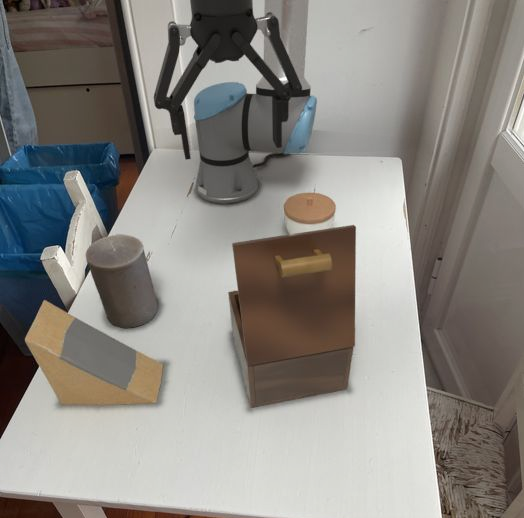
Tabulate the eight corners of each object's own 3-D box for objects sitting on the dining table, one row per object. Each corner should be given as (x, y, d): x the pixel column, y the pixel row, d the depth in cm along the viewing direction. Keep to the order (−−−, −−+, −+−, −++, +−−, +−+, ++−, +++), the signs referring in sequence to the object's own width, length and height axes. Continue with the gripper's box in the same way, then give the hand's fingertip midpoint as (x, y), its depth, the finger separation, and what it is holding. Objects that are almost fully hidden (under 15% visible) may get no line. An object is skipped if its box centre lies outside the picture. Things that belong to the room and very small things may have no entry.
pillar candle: (105, 331, 87) (79, 264, 76) (108, 296, 94) (85, 230, 83) (159, 324, 88) (141, 257, 77) (158, 290, 95) (142, 224, 84)
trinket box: (330, 254, 101) (333, 214, 94) (279, 249, 103) (279, 209, 96) (335, 225, 108) (338, 186, 101) (288, 221, 110) (288, 183, 103)
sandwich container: (157, 404, 76) (135, 338, 65) (60, 406, 76) (23, 340, 65) (164, 363, 82) (146, 296, 71) (74, 364, 82) (42, 298, 71)
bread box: (232, 334, 86) (228, 291, 79) (317, 319, 88) (320, 276, 81) (250, 408, 75) (247, 366, 68) (347, 389, 77) (353, 347, 70)
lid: (231, 242, 59) (239, 258, 54) (353, 224, 61) (371, 237, 56) (247, 363, 68) (254, 385, 63) (353, 343, 70) (368, 364, 65)
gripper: (110, -14, 52) (149, 172, 68) (331, -32, 55) (320, 149, 71) (110, -28, 57) (146, 148, 73) (313, -44, 60) (306, 129, 76)
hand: (232, 149), depth 72 cm, fingers open, 13 cm apart
